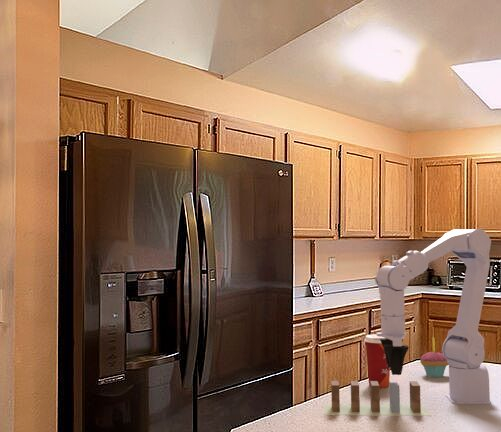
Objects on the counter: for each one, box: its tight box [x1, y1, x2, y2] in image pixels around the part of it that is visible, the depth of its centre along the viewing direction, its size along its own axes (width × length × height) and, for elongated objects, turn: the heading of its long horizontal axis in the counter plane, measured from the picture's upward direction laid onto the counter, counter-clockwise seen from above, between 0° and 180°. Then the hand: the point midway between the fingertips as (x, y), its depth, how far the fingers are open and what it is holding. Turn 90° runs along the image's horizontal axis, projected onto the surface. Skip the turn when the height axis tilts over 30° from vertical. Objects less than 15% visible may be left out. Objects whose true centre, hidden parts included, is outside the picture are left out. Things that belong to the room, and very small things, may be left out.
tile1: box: [409, 380, 422, 413], centre depth 148 cm, size 2×4×6 cm, turn 174°
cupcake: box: [419, 334, 449, 378], centre depth 184 cm, size 9×8×12 cm
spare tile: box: [388, 380, 401, 413], centre depth 148 cm, size 2×4×6 cm, turn 175°
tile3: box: [369, 381, 381, 412], centre depth 149 cm, size 2×4×6 cm, turn 174°
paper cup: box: [364, 333, 391, 389], centre depth 173 cm, size 8×8×14 cm
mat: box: [323, 403, 432, 417], centre depth 149 cm, size 25×9×1 cm, turn 84°
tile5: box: [330, 380, 341, 412], centre depth 150 cm, size 2×4×6 cm, turn 174°
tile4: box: [350, 380, 361, 412], centre depth 149 cm, size 2×4×6 cm, turn 174°
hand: (394, 370), depth 149 cm, fingers open, 7 cm apart
